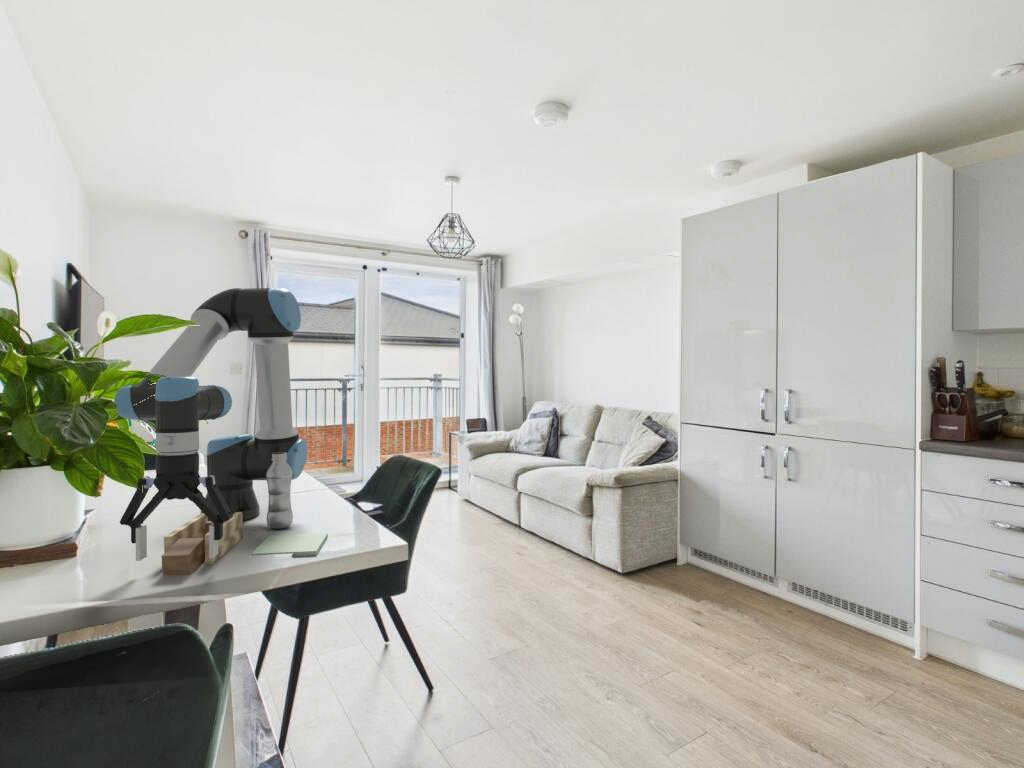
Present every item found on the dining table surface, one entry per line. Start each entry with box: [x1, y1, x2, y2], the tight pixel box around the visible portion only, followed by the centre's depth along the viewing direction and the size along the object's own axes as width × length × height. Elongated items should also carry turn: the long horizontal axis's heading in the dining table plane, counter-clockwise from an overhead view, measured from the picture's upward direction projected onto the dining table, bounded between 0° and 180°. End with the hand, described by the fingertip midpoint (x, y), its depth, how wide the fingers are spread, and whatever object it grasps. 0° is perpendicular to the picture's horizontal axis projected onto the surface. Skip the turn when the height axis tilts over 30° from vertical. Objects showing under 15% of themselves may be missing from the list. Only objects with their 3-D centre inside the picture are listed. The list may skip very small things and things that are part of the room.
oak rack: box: [163, 512, 244, 565], centre depth 126 cm, size 19×10×7 cm, turn 9°
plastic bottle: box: [266, 452, 294, 530], centre depth 147 cm, size 6×7×20 cm
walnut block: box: [160, 538, 205, 577], centre depth 115 cm, size 8×5×5 cm, turn 9°
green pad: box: [251, 532, 329, 557], centre depth 131 cm, size 14×14×1 cm
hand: (177, 557), depth 112 cm, fingers open, 13 cm apart
